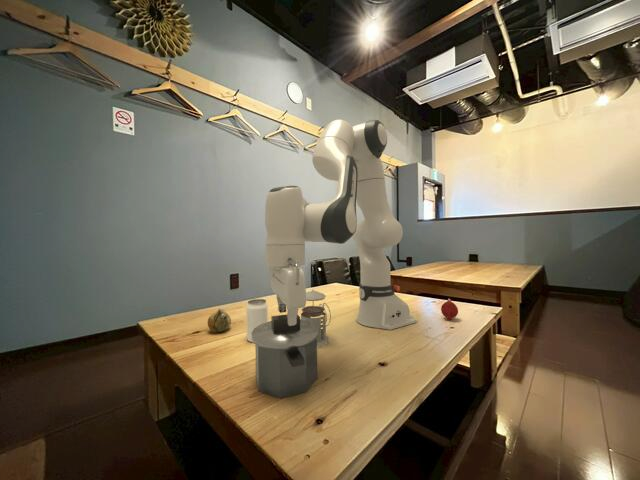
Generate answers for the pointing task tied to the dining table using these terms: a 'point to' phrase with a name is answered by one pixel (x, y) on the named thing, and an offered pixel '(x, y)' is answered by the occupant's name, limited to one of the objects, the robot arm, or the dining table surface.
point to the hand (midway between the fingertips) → (286, 317)
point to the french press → (316, 313)
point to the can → (256, 315)
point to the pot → (286, 370)
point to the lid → (284, 334)
